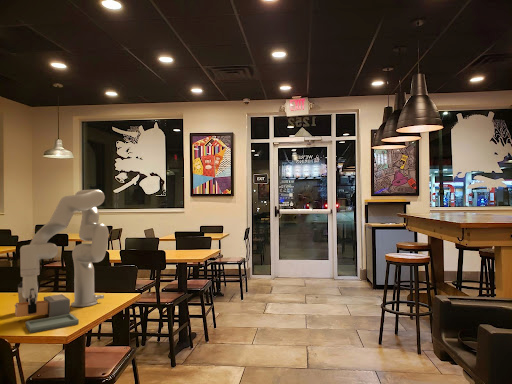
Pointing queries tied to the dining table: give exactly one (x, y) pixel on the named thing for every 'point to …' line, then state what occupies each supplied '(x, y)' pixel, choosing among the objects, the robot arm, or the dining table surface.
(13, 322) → the dining table surface
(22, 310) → the orange drawer
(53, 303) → the bay housing
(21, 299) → the coffee cup
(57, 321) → the tray
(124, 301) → the dining table surface
